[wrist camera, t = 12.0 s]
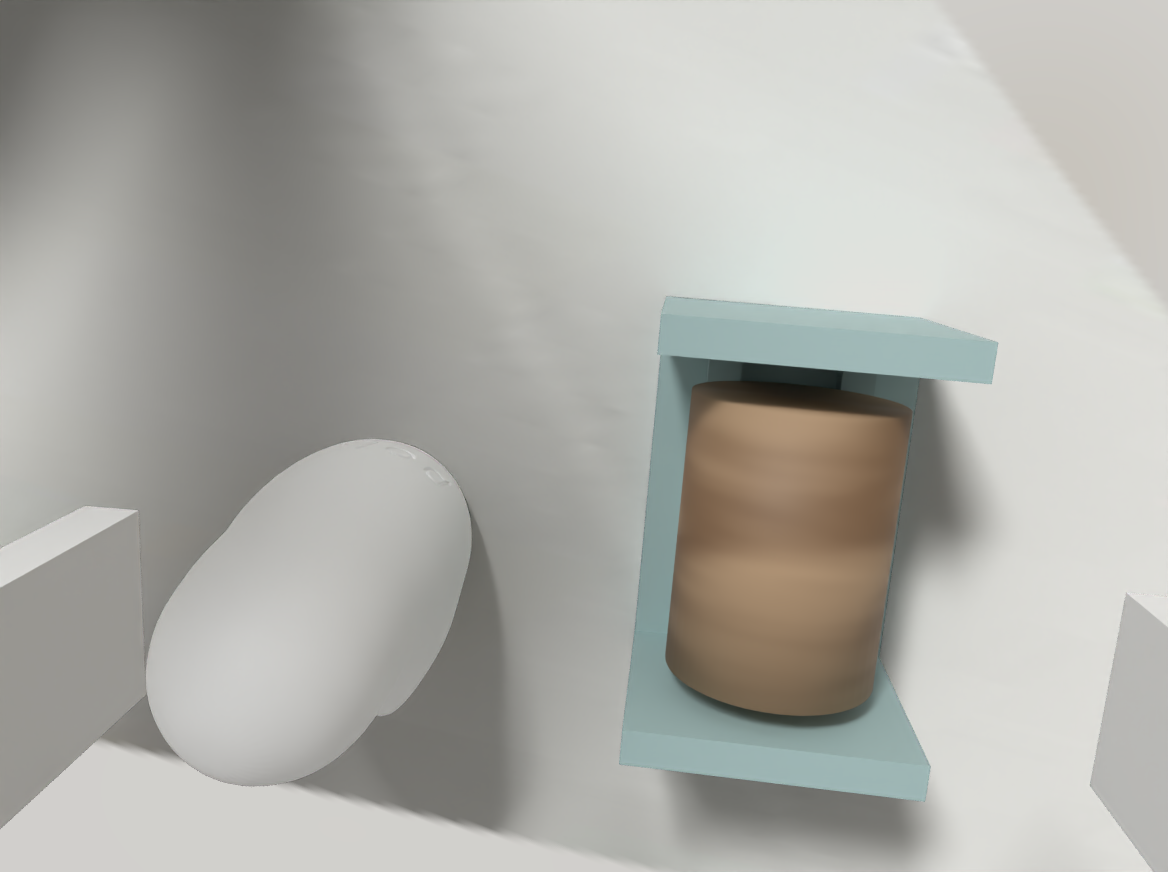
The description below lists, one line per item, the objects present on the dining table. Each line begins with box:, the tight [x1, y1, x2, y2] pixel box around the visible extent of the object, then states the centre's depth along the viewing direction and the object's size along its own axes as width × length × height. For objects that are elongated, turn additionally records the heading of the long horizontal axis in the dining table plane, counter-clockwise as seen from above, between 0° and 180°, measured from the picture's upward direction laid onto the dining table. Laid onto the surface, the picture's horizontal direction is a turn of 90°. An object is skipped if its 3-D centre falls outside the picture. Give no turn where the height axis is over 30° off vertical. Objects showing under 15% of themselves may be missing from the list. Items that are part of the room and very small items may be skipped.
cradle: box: [619, 296, 998, 802], centre depth 29 cm, size 12×8×8 cm, turn 176°
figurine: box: [146, 439, 472, 786], centre depth 29 cm, size 7×8×12 cm
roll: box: [665, 381, 913, 716], centre depth 29 cm, size 8×6×6 cm
